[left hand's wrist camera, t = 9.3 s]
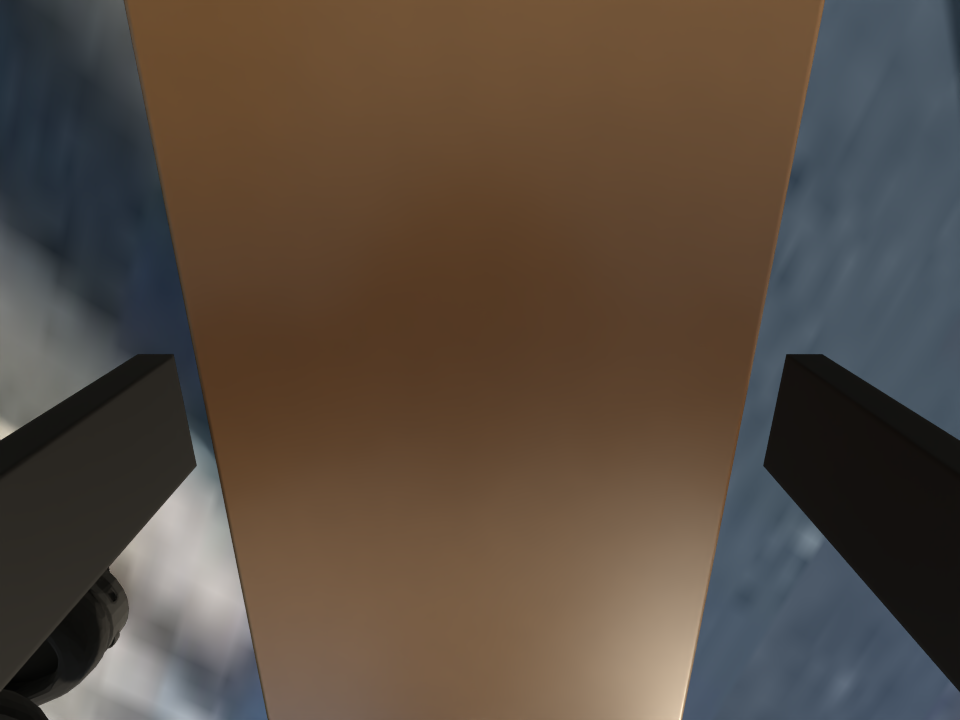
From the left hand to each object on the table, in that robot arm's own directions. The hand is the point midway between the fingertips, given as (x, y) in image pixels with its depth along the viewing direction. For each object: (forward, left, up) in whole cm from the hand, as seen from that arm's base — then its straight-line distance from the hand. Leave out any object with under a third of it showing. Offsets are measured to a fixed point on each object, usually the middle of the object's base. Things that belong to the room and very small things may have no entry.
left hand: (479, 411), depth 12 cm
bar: (+9, +2, -3) cm, 10 cm away
